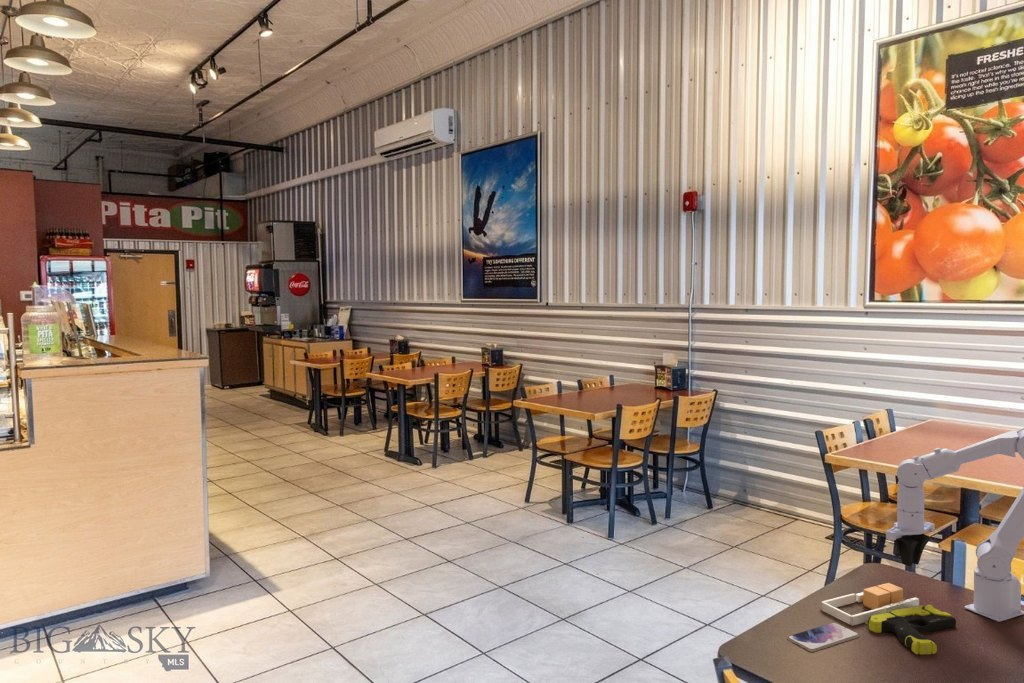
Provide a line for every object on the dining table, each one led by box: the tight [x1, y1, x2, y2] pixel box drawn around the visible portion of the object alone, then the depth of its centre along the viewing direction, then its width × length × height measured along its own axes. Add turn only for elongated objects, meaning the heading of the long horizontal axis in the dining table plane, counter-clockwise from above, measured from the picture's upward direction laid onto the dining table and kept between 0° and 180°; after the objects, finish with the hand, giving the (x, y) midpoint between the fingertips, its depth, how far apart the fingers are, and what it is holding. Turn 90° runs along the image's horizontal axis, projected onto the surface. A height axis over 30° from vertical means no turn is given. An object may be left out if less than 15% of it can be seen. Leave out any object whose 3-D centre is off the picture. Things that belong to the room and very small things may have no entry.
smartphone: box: [786, 622, 860, 653], centre depth 149 cm, size 7×1×15 cm
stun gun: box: [865, 604, 957, 655], centre depth 149 cm, size 3×19×15 cm
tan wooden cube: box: [862, 585, 890, 610], centre depth 163 cm, size 4×4×4 cm
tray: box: [820, 593, 886, 626], centre depth 160 cm, size 11×9×2 cm
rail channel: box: [855, 591, 920, 613], centre depth 164 cm, size 11×8×2 cm
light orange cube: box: [876, 582, 904, 604], centre depth 164 cm, size 4×4×4 cm
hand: (910, 563), depth 167 cm, fingers closed
